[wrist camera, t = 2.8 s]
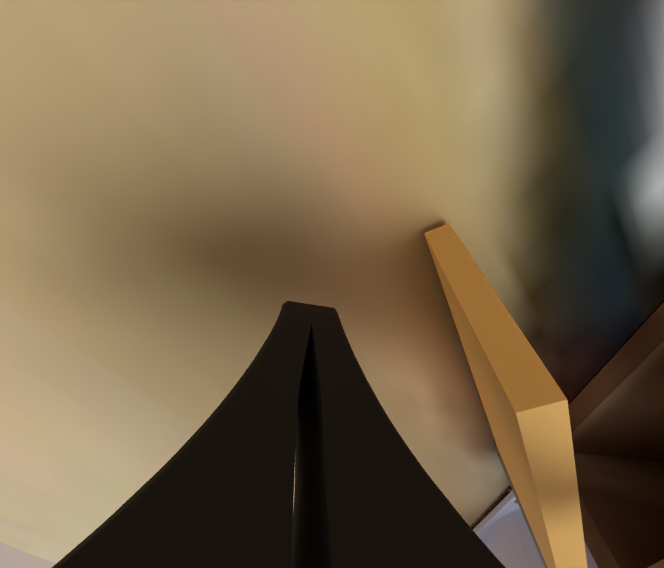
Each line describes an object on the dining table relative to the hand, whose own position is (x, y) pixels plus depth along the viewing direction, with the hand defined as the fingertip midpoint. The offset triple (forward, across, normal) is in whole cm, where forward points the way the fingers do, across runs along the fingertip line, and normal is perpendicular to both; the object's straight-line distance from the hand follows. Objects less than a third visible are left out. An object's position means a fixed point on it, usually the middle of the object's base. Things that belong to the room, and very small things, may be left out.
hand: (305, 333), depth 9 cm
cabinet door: (+3, -8, +4) cm, 9 cm away
